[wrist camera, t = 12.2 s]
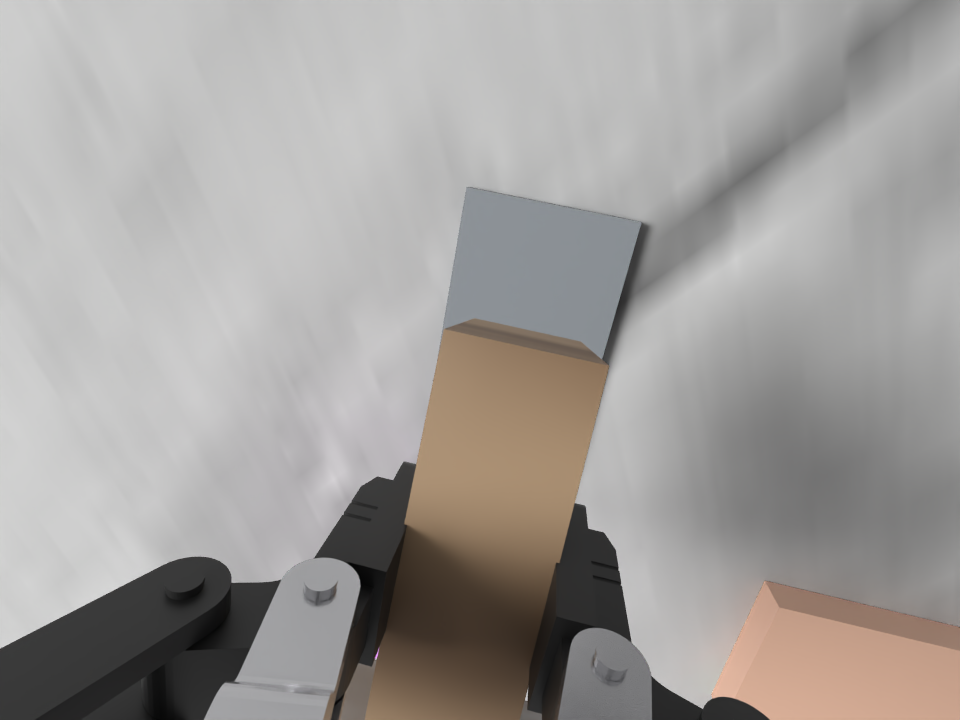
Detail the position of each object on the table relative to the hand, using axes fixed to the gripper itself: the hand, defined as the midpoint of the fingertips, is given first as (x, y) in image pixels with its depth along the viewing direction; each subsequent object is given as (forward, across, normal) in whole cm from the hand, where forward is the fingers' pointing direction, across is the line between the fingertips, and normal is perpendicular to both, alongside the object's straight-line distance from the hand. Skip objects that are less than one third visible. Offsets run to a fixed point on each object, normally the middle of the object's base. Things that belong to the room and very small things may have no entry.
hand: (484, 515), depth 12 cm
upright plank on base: (+2, 0, +2) cm, 3 cm away
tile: (+13, -22, +10) cm, 28 cm away
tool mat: (+14, 0, +2) cm, 14 cm away
